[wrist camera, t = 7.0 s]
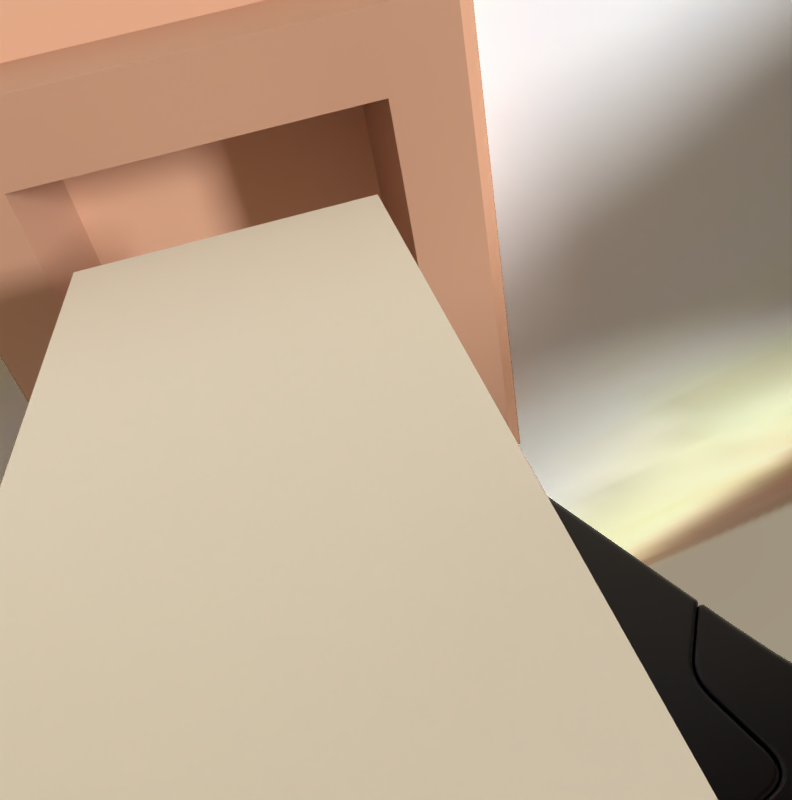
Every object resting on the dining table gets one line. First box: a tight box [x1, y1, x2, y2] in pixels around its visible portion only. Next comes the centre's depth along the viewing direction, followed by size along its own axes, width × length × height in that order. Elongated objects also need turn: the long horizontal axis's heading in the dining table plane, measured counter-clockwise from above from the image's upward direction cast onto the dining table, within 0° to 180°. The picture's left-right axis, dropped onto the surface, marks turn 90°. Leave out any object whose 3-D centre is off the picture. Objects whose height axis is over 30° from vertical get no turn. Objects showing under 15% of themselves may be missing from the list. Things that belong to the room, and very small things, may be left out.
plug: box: [0, 194, 718, 800], centre depth 8 cm, size 4×6×8 cm, turn 11°
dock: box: [0, 0, 520, 444], centre depth 14 cm, size 10×12×4 cm
